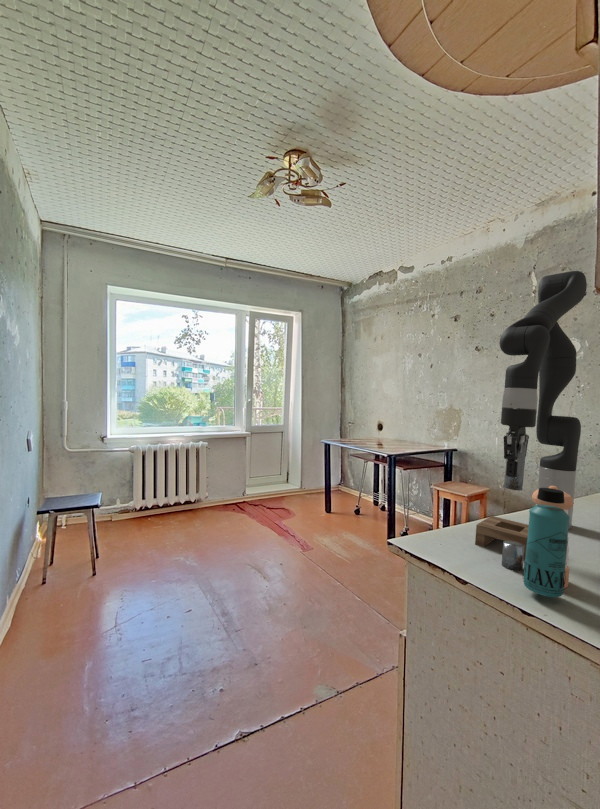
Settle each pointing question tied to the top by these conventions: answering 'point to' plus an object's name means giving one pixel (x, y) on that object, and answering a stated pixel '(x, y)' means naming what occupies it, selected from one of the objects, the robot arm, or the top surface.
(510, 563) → the short pin
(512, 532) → the hole bridge
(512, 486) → the tall pin
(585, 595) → the top surface
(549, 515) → the beverage bottle
